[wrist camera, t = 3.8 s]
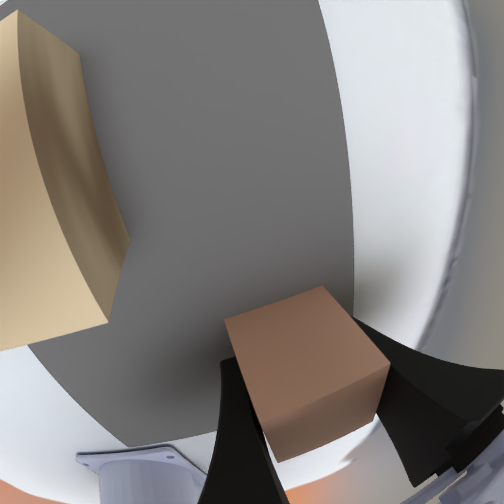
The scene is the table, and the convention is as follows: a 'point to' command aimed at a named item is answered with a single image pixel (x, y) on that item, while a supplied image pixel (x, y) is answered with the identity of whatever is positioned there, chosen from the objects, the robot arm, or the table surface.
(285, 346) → the terracotta block
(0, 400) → the table surface
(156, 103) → the mat
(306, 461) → the table surface
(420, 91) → the table surface
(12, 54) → the oak block
